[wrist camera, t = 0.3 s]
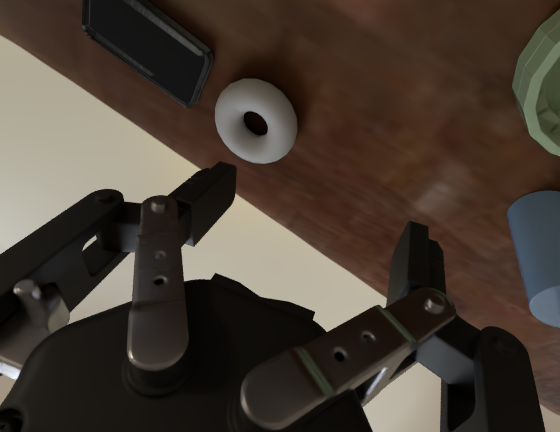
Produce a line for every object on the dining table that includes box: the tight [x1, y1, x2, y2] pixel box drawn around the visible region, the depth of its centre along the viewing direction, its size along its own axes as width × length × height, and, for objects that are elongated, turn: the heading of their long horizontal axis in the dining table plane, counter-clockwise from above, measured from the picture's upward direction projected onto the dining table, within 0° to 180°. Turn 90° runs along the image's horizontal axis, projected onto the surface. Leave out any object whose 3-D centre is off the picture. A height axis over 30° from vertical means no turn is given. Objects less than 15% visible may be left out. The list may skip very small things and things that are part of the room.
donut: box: [215, 79, 298, 164], centre depth 36 cm, size 10×4×10 cm
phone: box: [82, 0, 214, 108], centre depth 36 cm, size 8×1×15 cm
